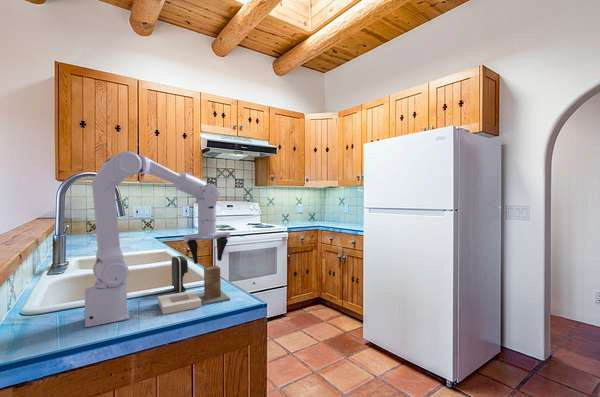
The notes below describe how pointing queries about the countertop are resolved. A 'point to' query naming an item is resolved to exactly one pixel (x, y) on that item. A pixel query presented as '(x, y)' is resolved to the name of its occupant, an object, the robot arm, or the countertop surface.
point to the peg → (212, 282)
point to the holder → (179, 302)
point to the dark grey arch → (179, 272)
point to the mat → (212, 300)
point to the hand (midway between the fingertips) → (207, 261)
